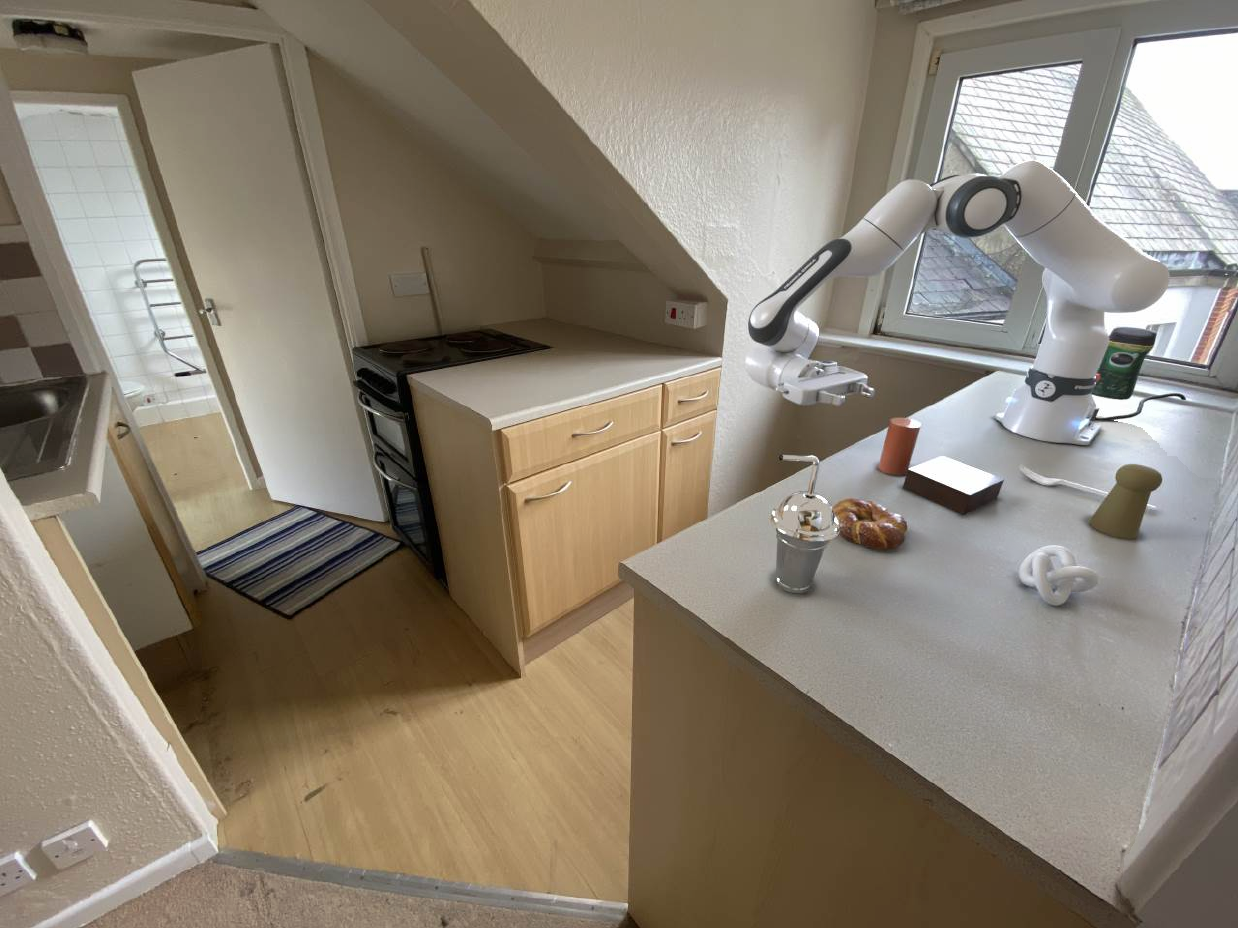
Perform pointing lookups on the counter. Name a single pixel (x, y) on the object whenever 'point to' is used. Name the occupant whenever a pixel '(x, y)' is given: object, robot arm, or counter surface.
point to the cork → (1126, 501)
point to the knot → (1055, 574)
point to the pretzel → (869, 524)
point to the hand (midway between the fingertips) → (857, 397)
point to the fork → (1065, 483)
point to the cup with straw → (802, 532)
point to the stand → (953, 484)
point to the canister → (899, 446)
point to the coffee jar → (1123, 362)
